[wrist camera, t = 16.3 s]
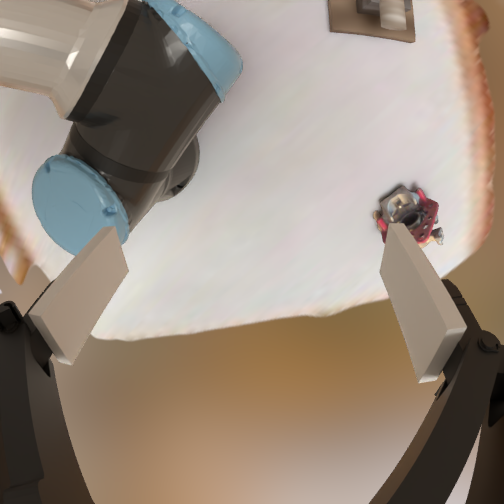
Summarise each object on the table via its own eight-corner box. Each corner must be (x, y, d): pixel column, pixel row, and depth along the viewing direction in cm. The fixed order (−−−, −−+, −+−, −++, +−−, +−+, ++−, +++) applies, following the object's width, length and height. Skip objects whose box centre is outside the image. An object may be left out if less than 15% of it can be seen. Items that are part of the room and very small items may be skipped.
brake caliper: (412, 164, 38) (458, 225, 33) (420, 190, 47) (456, 242, 41) (358, 205, 43) (397, 269, 38) (375, 224, 51) (407, 277, 46)
